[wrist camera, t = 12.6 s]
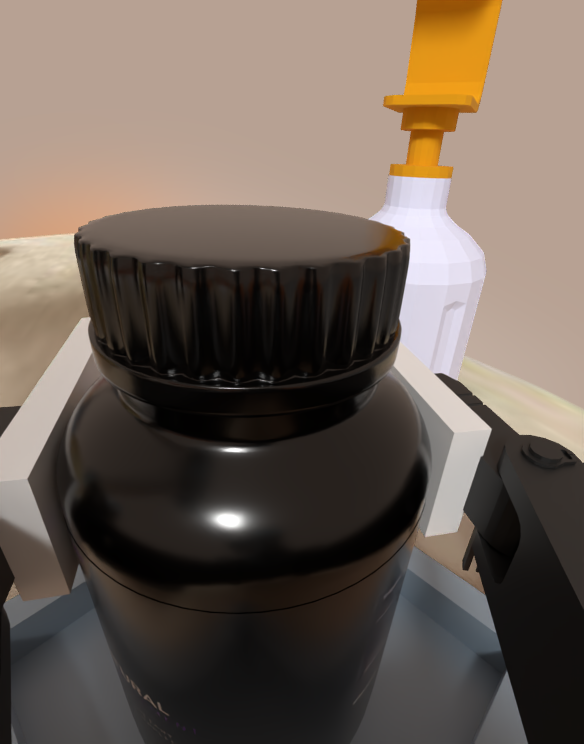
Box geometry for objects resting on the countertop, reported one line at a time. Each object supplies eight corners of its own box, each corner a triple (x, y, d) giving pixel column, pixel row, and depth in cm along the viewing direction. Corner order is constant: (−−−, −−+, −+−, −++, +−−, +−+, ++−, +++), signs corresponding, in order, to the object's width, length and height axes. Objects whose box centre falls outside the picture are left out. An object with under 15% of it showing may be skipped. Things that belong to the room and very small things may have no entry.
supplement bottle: (75, 770, 10) (-229, 251, 4) (196, 534, 15) (151, 191, 10) (368, 870, 8) (594, 332, 3) (379, 573, 14) (452, 206, 8)
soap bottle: (297, 414, 27) (326, -133, 15) (343, 360, 34) (387, -37, 22) (437, 456, 23) (614, -202, 12) (455, 386, 31) (575, -63, 19)
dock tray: (-35, 688, 13) (-66, 644, 12) (267, 483, 21) (268, 445, 20) (207, 1567, 5) (189, 1714, 4) (536, 690, 13) (563, 649, 12)
